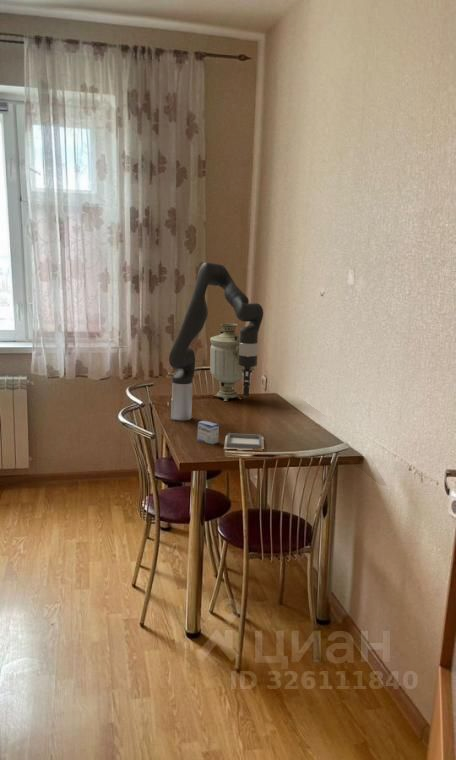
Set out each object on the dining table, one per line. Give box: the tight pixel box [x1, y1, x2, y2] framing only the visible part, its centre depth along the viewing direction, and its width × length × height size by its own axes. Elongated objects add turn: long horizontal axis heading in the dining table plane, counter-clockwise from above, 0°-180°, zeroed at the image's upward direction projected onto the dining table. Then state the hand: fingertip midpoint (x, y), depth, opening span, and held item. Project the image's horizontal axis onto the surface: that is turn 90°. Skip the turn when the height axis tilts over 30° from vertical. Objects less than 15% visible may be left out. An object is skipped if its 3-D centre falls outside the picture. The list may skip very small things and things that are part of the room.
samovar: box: [209, 322, 255, 402], centre depth 323 cm, size 30×26×40 cm
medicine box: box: [196, 420, 220, 445], centre depth 251 cm, size 8×4×9 cm, turn 53°
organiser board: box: [223, 432, 265, 451], centre depth 250 cm, size 16×17×3 cm
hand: (246, 393), depth 246 cm, fingers open, 8 cm apart
